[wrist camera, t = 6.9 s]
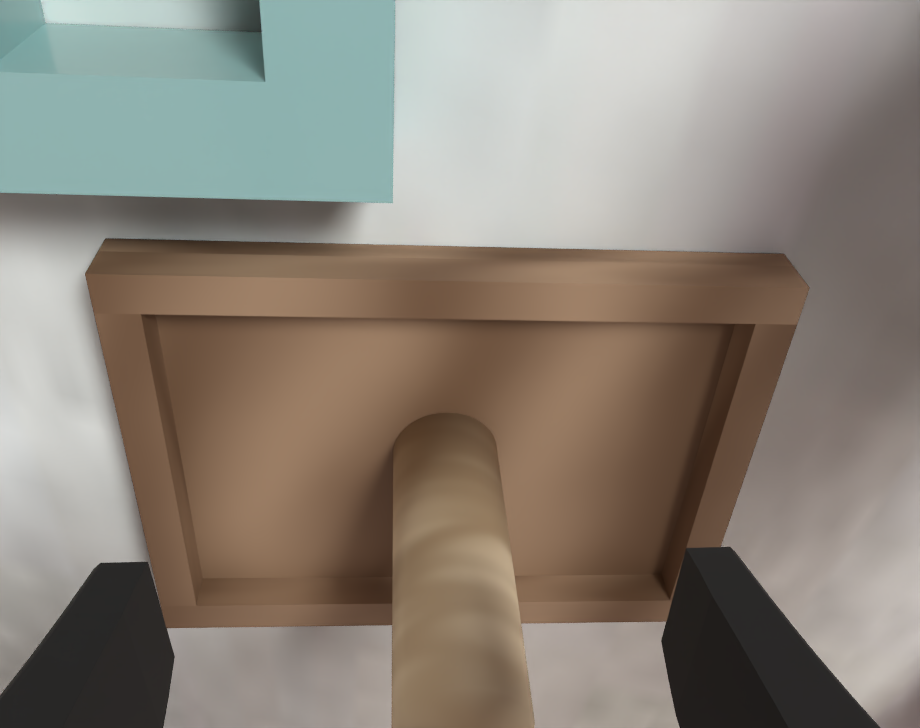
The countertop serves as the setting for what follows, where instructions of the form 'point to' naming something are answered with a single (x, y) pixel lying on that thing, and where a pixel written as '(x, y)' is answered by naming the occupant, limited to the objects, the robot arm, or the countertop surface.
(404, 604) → the pin
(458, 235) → the countertop surface
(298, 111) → the teal square ring
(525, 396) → the tray
